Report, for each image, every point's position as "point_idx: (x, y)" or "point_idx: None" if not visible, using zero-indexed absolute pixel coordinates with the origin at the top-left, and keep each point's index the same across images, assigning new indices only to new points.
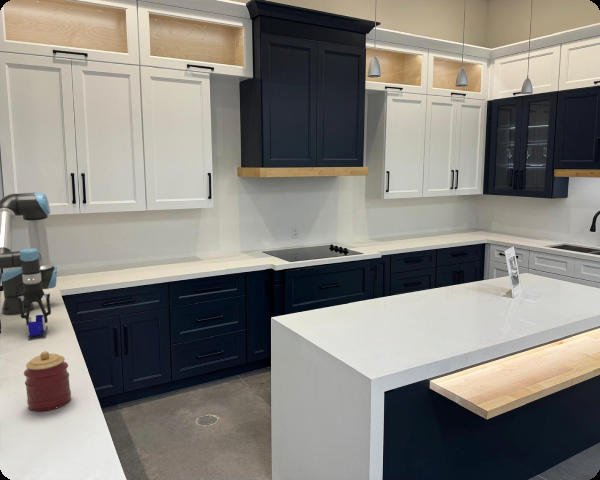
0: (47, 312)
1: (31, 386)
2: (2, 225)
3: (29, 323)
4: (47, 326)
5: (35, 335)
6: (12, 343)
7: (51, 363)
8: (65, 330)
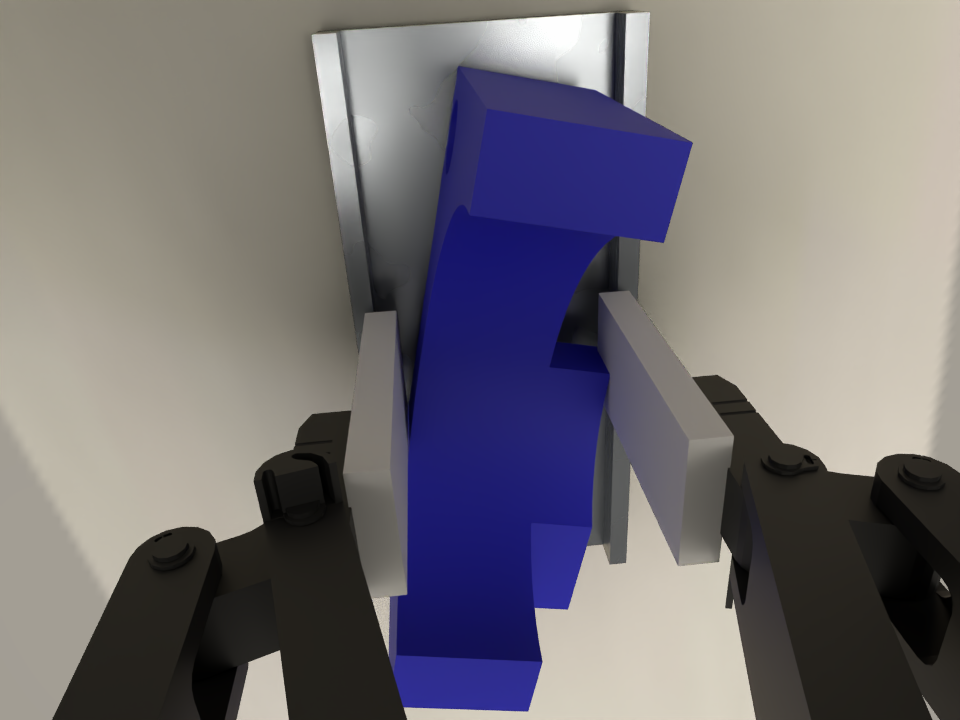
0: (866, 557)
1: None
2: None
3: (419, 693)
4: (645, 62)
5: None
6: None
7: None
8: (905, 287)
